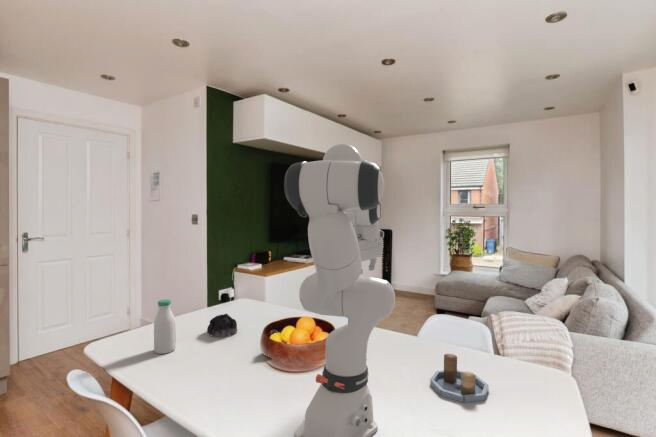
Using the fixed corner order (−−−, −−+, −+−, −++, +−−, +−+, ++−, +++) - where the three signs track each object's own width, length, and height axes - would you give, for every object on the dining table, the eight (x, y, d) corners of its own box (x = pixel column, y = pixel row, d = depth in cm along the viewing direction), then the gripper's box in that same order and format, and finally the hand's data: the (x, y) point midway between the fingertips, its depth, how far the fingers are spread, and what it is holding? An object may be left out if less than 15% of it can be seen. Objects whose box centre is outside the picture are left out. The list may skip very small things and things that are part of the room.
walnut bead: (454, 385, 109) (455, 360, 108) (442, 381, 111) (442, 357, 111) (458, 379, 112) (458, 355, 112) (445, 376, 114) (445, 352, 114)
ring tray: (481, 412, 96) (481, 402, 96) (425, 394, 105) (425, 385, 105) (491, 387, 110) (491, 378, 109) (440, 373, 119) (440, 365, 118)
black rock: (213, 329, 163) (211, 308, 162) (242, 326, 163) (239, 306, 162) (203, 342, 150) (200, 320, 149) (234, 339, 150) (232, 317, 149)
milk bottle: (175, 352, 134) (174, 302, 134) (153, 355, 132) (152, 304, 131) (176, 345, 142) (175, 297, 141) (155, 348, 139) (154, 299, 138)
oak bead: (473, 399, 101) (474, 379, 100) (459, 395, 103) (459, 375, 103) (476, 393, 104) (476, 373, 104) (462, 389, 106) (463, 370, 106)
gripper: (359, 236, 112) (359, 278, 112) (386, 232, 129) (385, 269, 129) (343, 235, 115) (342, 276, 116) (370, 231, 132) (370, 267, 133)
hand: (365, 272), depth 123 cm, fingers open, 8 cm apart
